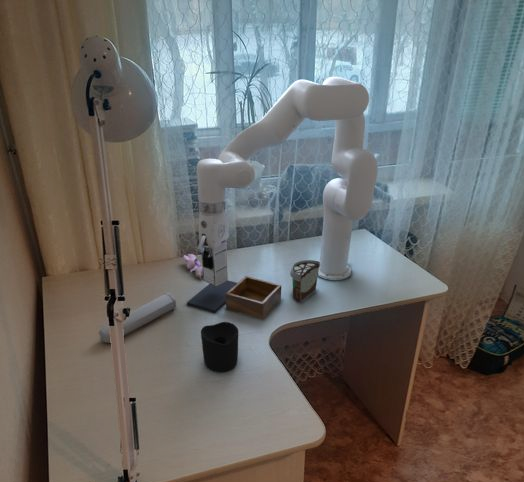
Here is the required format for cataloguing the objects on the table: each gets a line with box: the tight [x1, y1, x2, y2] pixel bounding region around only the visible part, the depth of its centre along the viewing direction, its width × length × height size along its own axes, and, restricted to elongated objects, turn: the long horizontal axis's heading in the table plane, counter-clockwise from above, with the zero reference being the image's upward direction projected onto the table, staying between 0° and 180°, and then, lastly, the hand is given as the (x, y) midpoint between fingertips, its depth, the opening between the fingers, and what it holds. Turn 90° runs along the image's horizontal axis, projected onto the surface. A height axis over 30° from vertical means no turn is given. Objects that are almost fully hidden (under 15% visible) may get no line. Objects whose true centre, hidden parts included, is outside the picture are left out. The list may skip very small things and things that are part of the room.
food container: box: [289, 259, 320, 304], centre depth 157 cm, size 12×6×10 cm, turn 145°
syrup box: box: [201, 238, 229, 286], centre depth 150 cm, size 6×6×14 cm
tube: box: [98, 291, 177, 344], centre depth 142 cm, size 5×5×25 cm
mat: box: [186, 280, 238, 314], centre depth 158 cm, size 18×10×1 cm, turn 153°
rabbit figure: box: [182, 253, 203, 281], centre depth 169 cm, size 6×6×15 cm
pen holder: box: [200, 321, 239, 373], centre depth 127 cm, size 9×9×10 cm
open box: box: [225, 275, 282, 320], centre depth 152 cm, size 13×13×5 cm
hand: (214, 262), depth 151 cm, fingers closed on syrup box, 6 cm apart
